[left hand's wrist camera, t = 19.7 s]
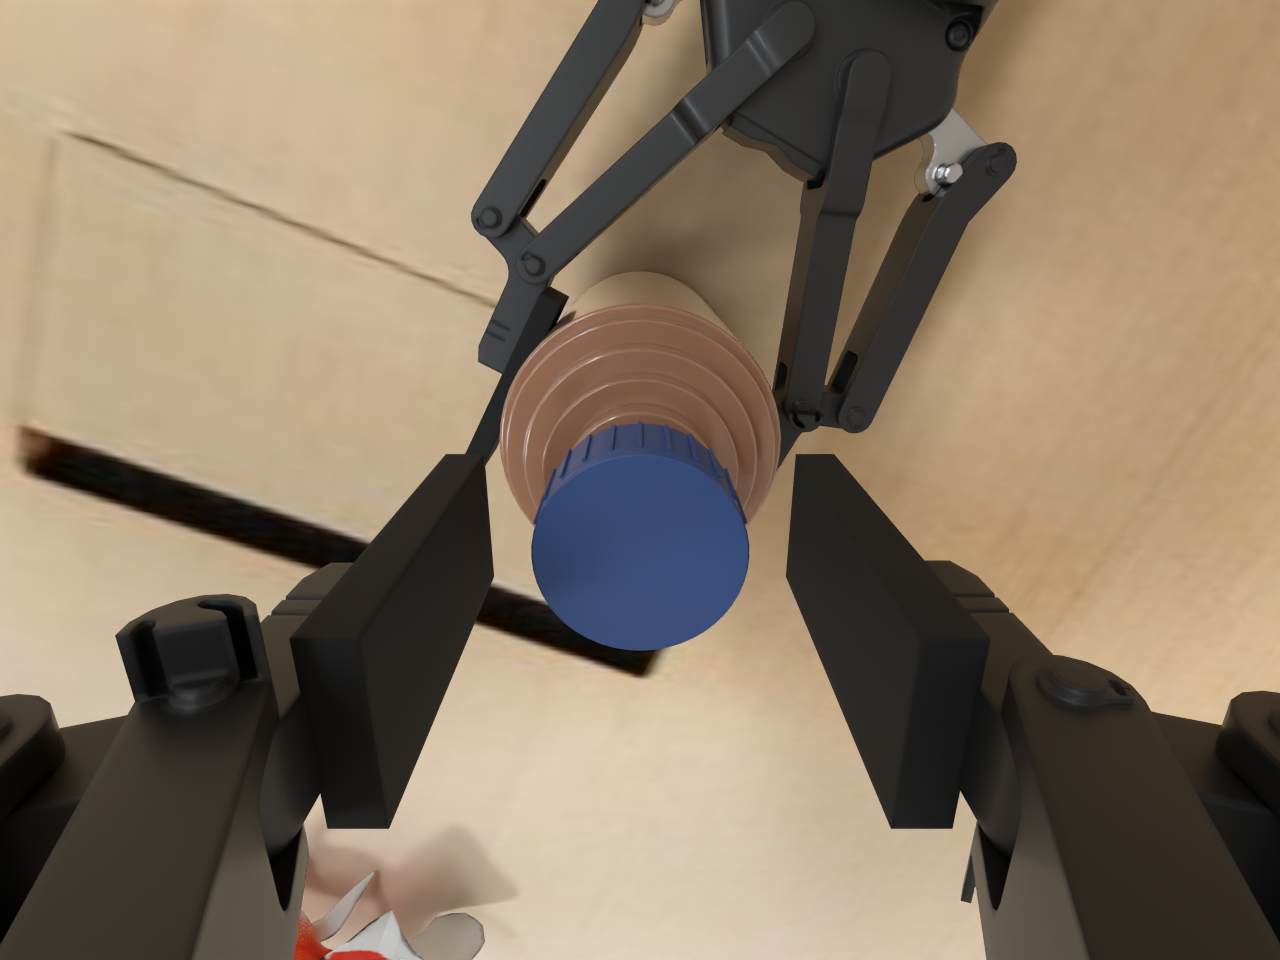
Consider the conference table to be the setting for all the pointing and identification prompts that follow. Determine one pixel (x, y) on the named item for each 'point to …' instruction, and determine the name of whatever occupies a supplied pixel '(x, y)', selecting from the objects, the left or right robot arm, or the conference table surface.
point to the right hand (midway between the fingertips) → (580, 503)
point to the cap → (640, 538)
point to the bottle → (640, 386)
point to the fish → (388, 936)
